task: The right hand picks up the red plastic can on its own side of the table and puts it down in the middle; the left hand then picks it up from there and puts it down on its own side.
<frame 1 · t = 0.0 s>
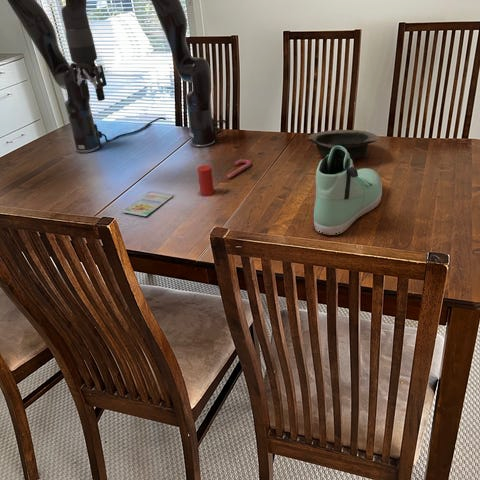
right hand: (93, 98, 151), 29 cm above the table, tool pointing down, fingers open, 8 cm apart
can: (207, 192, 155), on the table
candy cane: (237, 171, 168), on the table
sneaker: (348, 208, 139), on the table
baking ingredient package: (148, 204, 150), on the table
stone bowl: (341, 155, 173), on the table
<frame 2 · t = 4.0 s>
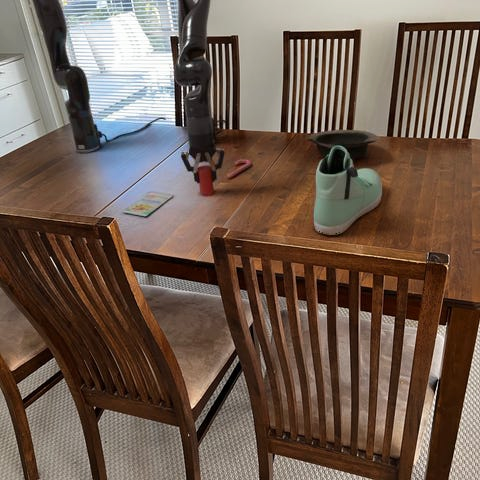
right hand: (205, 181, 153), 4 cm above the table, tool pointing down, fingers closed on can, 4 cm apart
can: (207, 192, 155), on the table, touching right hand
everything else where it was.
when the right hand's fingers open (6 cm above the table, at t = 10.1 s): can drops 2 cm, on the table.
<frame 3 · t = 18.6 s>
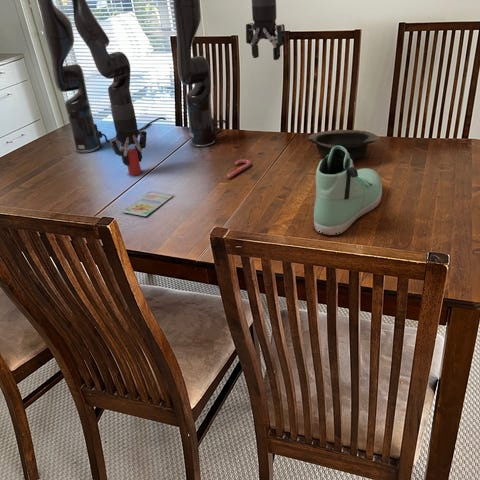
left hand: (133, 162, 171), 4 cm above the table, tool pointing down, fingers closed on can, 4 cm apart
right hand: (266, 58, 157), 35 cm above the table, tool pointing down, fingers open, 8 cm apart
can: (135, 173, 173), on the table, touching left hand
everything else where it was.
when the left hand's fingers open (6 cm above the table, at t = 23.8 s): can drops 1 cm, on the table.
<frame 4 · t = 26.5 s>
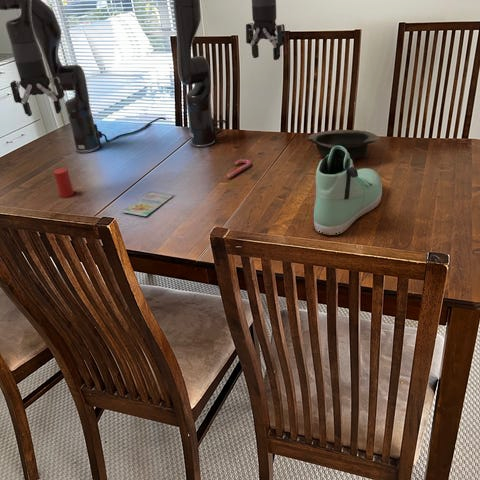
left hand: (44, 114, 147), 27 cm above the table, tool pointing down, fingers open, 8 cm apart
right hand: (266, 58, 157), 35 cm above the table, tool pointing down, fingers open, 8 cm apart
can: (67, 194, 161), on the table
everything else where it was.
at the end: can inside the target area (0.2 cm from its centre), on the table; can tilted 0°; the two hands never held the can at the same time; the left hand is holding nothing; the right hand is holding nothing; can at rest at the end (0.0 cm/s) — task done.
